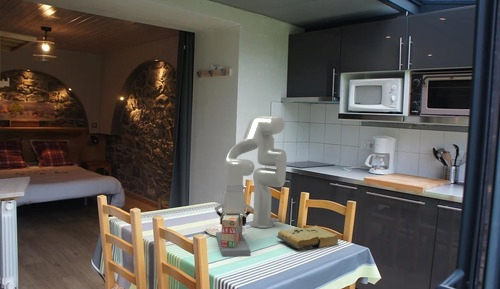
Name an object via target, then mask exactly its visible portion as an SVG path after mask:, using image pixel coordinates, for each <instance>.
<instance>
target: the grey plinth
mask: <svg viewBox="0 0 500 289" xmlns="http://www.w3.org/2000/svg"><path fill="white" fill-rule="evenodd" d="M221 237H222V231H216V232H215V239H216V241H217V245H218V248H219V251H220V253H221V256H222V258H223V257H225V258H226V257H250V256H251V252H252V250H251V248H250V247H249V245H248V243H247V241H246V239H245V237H244V235H243V234H242V235H241V237H240V238H239V241H238V243H237V245H236V247H235V248H228V247H221Z"/></svg>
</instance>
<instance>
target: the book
mask: <svg viewBox="0 0 500 289" xmlns="http://www.w3.org/2000/svg"><path fill="white" fill-rule="evenodd" d="M337 234H338V233H332V232H331V231H328V230H327V229H323V228H321V227H320V226H318V225H314V226H310V227H294V228H293V227H292V228H291V229H287V230H286V229H281V230H279V231H278V233H277V235H276V238H277V239H279V240H280V241H282V242H284V243H285V244H286V245H288V246H290V247H291V248H293V249H296V250H298V251H302V250H308V249H318V250H319V249H325V248H331V247H335V246H339V235H337Z"/></svg>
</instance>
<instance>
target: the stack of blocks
mask: <svg viewBox="0 0 500 289" xmlns="http://www.w3.org/2000/svg"><path fill="white" fill-rule="evenodd" d="M242 216H243V214H225V215H224V218H223V219H222V225H221V232H222V237H221V247H228V248H235V247H236V245H237V243H238V241H239V238H240V237H241V235H243V225H242Z"/></svg>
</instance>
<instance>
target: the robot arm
mask: <svg viewBox="0 0 500 289" xmlns="http://www.w3.org/2000/svg"><path fill="white" fill-rule="evenodd" d="M285 124H286V123H285V120H284V117H282V116H279V115H256V116H254V117H252V118H251V119H250V120H249V121H248V124H247V127H246V128H245V129H246V130H245V132H244V134H243V137H242V140H240V141H238V142H237V143H236V144H234V145H233V146H232V147H231V148H230V150H228V153H227V155H226V158H225V160H224V164H223V170H224V172H225V174H226V179H225V183H226V184H225V190H224V191H223V195H222V201H221V203H220V204H219V205H217V206H215V207H214V210H215V212H216V215H218V217H220V218H219V220H220V221H219V222H220V223H219V224H220V225H221V226H222V219H223V218H224V216H225V215H226V214H240V215H243V216H242V227H246V224H247V218H248V217H249V215H250V214H251V213H252V210H253V213H252V220H251V221H250V223H249V225H250V227H252V228H257V229H269V228H272V227H273V226H274V223H279V222H280V219H279V218H276V217H271V216H272V215H271V213H272V191H271V190H270V189H271V188H269V187H273V188H283V187H284V185H285V184H286V174H287V162H288V161H287V160H288V156H287V152H286V151H285V150H284V149H281V148H280V149H279V148H275V138H274V135H275V136H276V135H277V134H280V133H282V132H283V130H284V129H285ZM256 149H257V163H258V164H259V165H261V166H266V167H258V168H255V167H256V166H255V163H254V161H252V160H249V159H244V158H243V159H242V158H239V156H241V155H242V154H246V153H249V152H252V151H254V150H256ZM269 167H275V168H269ZM251 175H252V180H253V186H254V187H253V207H252V205H249V204H247V203H246V197H245V192H244V190H246V189H247V186H246V185H244V177H249V176H251ZM219 209H221V210H222V211H221V212H220V211H219ZM246 209H248V210H247V211H246Z"/></svg>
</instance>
